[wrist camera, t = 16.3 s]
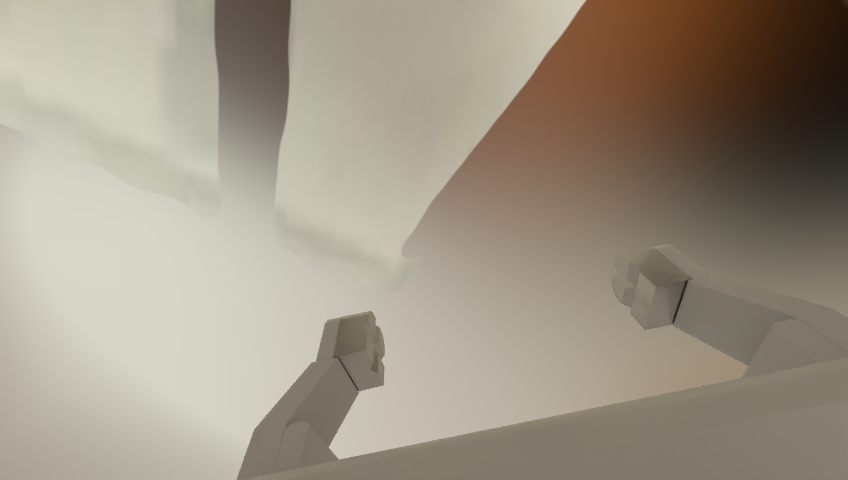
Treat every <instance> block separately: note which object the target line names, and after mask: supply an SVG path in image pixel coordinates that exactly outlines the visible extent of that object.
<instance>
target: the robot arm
mask: <svg viewBox="0 0 848 480" xmlns="http://www.w3.org/2000/svg"><path fill="white" fill-rule="evenodd" d="M614 266H615V267H616V268H617V269H618V270H617V271H616V272H615V273H614V275H613V276H612V287H613V291H614V293H615V295H616V297H617V298H618V299H619V301H620V302H621V303H622V304H624V305H627V306H629V307H631V315H632V316H633V317H634V318H635V319H636V320H637V321H638V323H639V324H640V325H641V326H642V327H643V328H644V329H645V330H646V329H652V328H657V327H663V326H668V325H673V324H674V325H673V326H674V327H676V328H678V329H680V330H682V331H684V332H686V333H688V334H690V335H691V336H693V337H695V338H697V339H699V340H701V341H703V342H705V343H706V344H708V345H710V346H712V347H714V348H716V349H718V350H720V351H721V352H723V353H725V354H727V355H729V356H731V357H733V358H735V359H736V360H739V361H740V362H742V363H744V364H746V365H748V367H747V369H746V371H745V372H744V374H743V376H742V378H741V379H736V380H731V381H726V382H721V383H716V384H711V385H706V386H701V387H696V388H692V389H686V390H681V391H676V392H671V393H666V394H661V395H657V396H651V397H647V398H642V399H637V400H632V401H627V402H622V403H617V404H612V405H607V406H602V407H597V408H592V409H588V410H582V411H577V412H572V413H567V414H563V415H558V416H553V417H548V418H543V419H538V420H533V421H528V422H523V423H519V424H513V425H509V426H503V427H499V428H494V429H489V430H484V431H479V432H474V433H469V434H464V435H459V436H454V437H450V438H444V439H439V440H434V441H429V442H425V443H419V444H415V445H410V446H405V447H400V448H395V449H390V450H385V451H380V452H375V453H370V454H365V455H360V456H355V457H350V458H345V459H340V460H339V459H338V458H337V457H336V456H335V455H334V454H333V452H332V451H331V450H330V449H329V445H330V444H331V442H332V440H333V438H334V436H335V435H336V433H337V431H338V429H339V427H340V426H341V424H342V422H343V420H344V419H345V417H346V415H347V413H348V411H349V409H350V408H351V406H352V404H353V402H354V400H355V399H356V397H357V395H358V393H359V392H358V391H362V390H366V389H370V388H374V387H378V386H382V385H384V365H383V363H382V361H381V359H382V358H383V356H384V353H385V351H384V350H385V347H384V339H383V335H382V332H381V330H380V328H379V327H378V326H376V325H375V320H376V319H375V316H374V314H373V312H371V311H369V312H364V313H359V314H354V315H348V316H344V317H341V318H335V319H330V320H327V322H326V323H325V326H324V330H323V334H322V338H321V343H320V347H319V351H318V355H317V360H316V362H313V363H311V364H310V365H309V367H308V368H307V369H306V370H305V371H304V372H303V373H302V375H301V376H300V377H299V378H298V379H297V380H296V382H295V383H294V384H293V385H292V386H291V388H290V389H289V390H288V391H287V392H286V393H285V394H284V396H283V397H282V398H281V399H280V400H279V401H278V403H277V404H276V405H275V406H274V407H273V408H272V410H271V411H270V412H269V413H268V414H267V415H266V417H265V418H264V419H263V420H262V421H261V422H260V424H259V425H258V426H257V427H256V428H255V429H254V432H253V435H252V438H251V441H250V443H249V446H248V449H247V452H246V455H245V457H244V460H243V463H242V466H241V469H240V471H239V474H238V478H237V480H848V318H847V317H846V316H844V315H842V314H841V313H839V312H837V311H836V310H834V309H832V308H829V307H825V306H822V305H818V304H815V303H812V302H808V301H805V300H801V299H798V298H795V297H792V296H788V295H785V294H781V293H778V292H775V291H771V290H768V289H764V288H761V287H758V286H754V285H751V284H747V283H745V282H741V281H738V280H734V279H731V278H728V277H724V276H721V275H718V274H716V275H710V274H709V273H708V272H706V271H705V270H704V269H702V268H701V267H700V266H698V265H697V264H695V263H694V262H693V261H691V260H690V259H689V258H688V257H686V256H685V255H683V254H682V253H681V252H679V251H678V250H677V249H675V248H674V247H672V246H671V245H667V244H664V245H660V246H656V247H652V248H649V249H643V250H639V251H635V252H631V253H627V254H622V255H618V256H617V257H616V259H615V262H614Z"/></svg>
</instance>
